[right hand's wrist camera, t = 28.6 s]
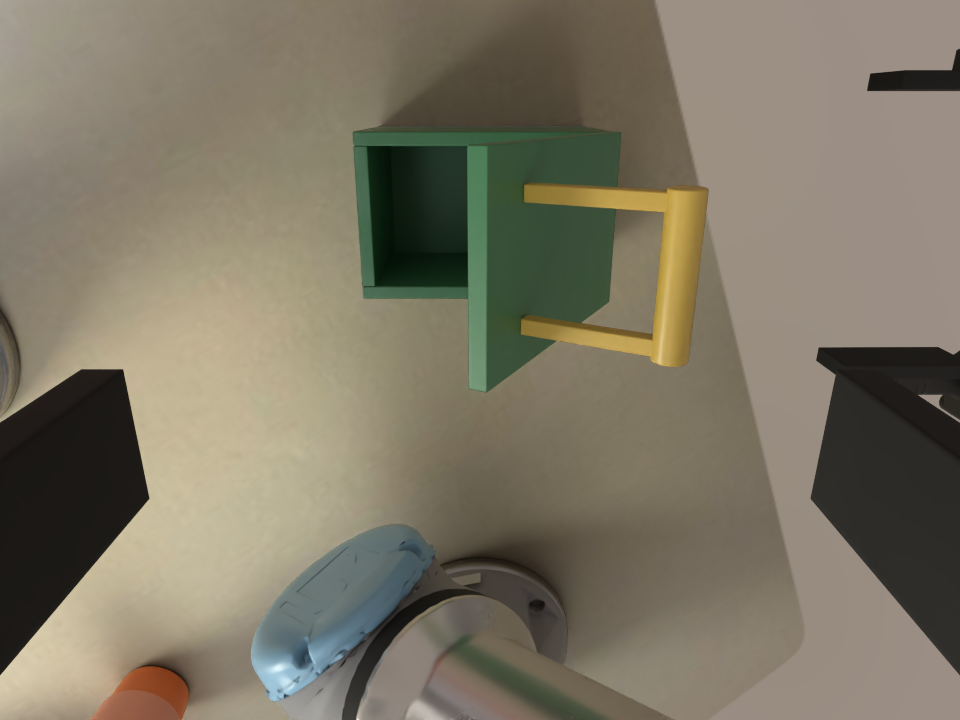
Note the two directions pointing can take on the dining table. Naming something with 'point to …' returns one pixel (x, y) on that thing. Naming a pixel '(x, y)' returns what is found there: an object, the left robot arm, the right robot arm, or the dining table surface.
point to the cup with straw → (146, 697)
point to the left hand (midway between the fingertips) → (854, 232)
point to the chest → (421, 205)
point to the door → (567, 253)
